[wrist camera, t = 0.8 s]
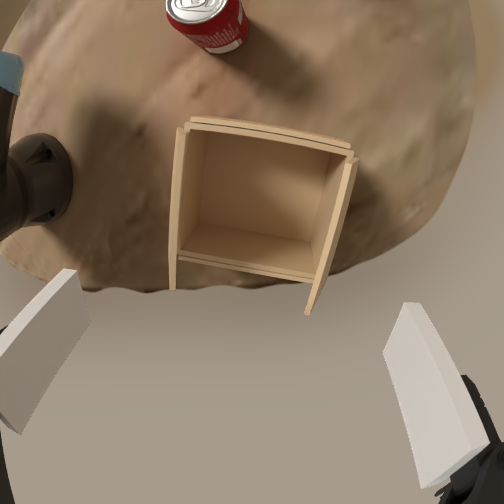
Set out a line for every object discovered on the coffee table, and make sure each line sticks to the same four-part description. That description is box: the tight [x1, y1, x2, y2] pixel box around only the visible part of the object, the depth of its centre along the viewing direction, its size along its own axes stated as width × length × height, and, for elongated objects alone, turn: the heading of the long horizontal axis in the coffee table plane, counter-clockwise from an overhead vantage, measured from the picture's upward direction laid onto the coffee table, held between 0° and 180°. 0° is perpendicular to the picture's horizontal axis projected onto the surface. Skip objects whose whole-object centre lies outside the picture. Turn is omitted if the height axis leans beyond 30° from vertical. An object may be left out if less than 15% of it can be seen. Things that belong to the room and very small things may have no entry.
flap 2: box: [304, 157, 360, 316], centre depth 25 cm, size 7×13×1 cm
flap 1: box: [168, 127, 186, 291], centre depth 25 cm, size 7×13×1 cm
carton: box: [177, 116, 354, 284], centre depth 33 cm, size 16×15×9 cm
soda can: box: [166, 0, 249, 54], centre depth 23 cm, size 7×7×12 cm
